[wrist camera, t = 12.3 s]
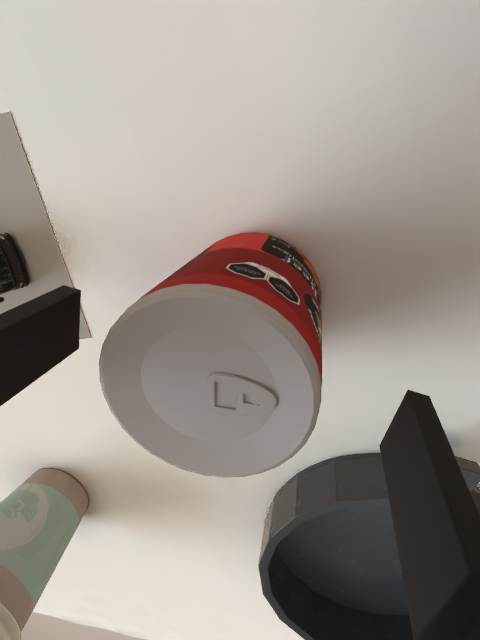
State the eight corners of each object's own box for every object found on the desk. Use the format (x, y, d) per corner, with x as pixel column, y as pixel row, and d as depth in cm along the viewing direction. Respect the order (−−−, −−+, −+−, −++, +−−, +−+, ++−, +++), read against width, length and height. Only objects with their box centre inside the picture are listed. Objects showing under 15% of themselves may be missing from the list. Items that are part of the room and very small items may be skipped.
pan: (587, 474, 23) (635, 531, 19) (428, 656, 32) (441, 716, 29) (312, 391, 24) (311, 429, 21) (239, 588, 34) (230, 637, 31)
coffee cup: (98, 466, 32) (-19, 625, 21) (106, 534, 35) (9, 700, 24) (10, 447, 33) (-142, 586, 22) (26, 514, 36) (-99, 663, 26)
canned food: (331, 340, 23) (338, 477, 13) (210, 356, 25) (138, 483, 15) (309, 215, 20) (297, 266, 10) (177, 245, 22) (63, 310, 12)
